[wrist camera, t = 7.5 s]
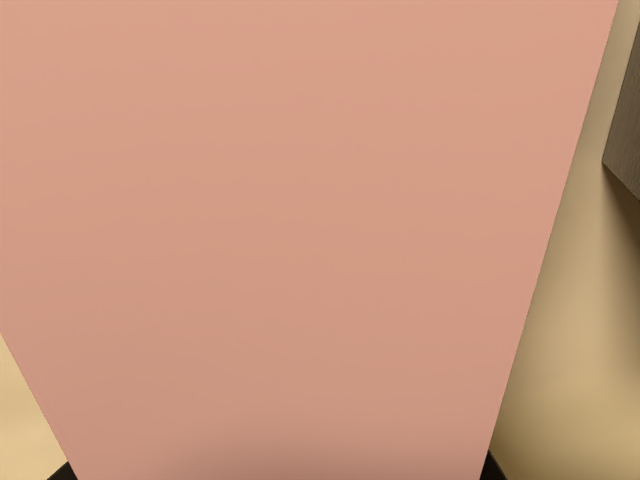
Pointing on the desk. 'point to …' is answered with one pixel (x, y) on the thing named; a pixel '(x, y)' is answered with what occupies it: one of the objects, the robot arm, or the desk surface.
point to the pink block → (281, 225)
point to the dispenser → (627, 128)
